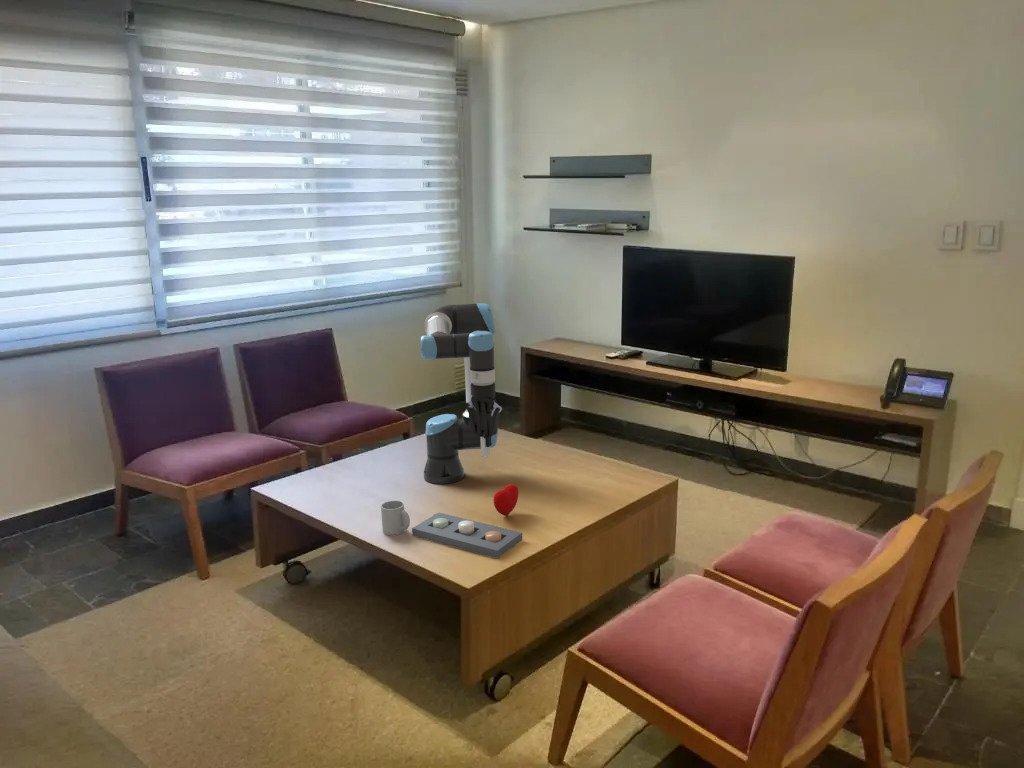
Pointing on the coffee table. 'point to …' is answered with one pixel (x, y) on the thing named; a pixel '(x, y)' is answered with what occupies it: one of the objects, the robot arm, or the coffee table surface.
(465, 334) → the robot arm
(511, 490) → the heart
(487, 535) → the peach button
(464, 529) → the cream button
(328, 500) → the coffee table surface
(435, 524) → the sage button
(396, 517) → the cup
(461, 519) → the panel
